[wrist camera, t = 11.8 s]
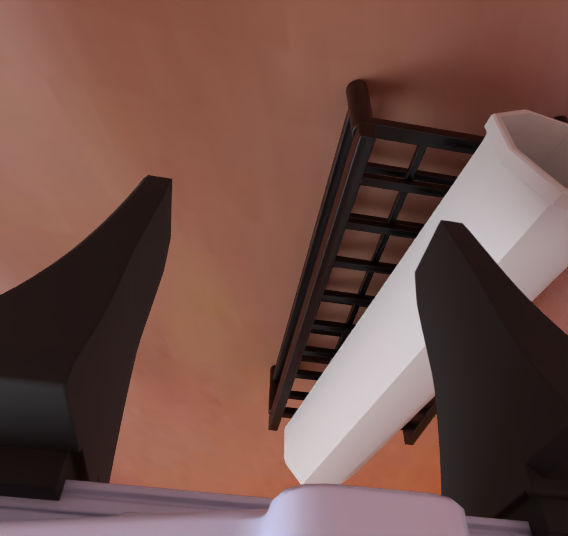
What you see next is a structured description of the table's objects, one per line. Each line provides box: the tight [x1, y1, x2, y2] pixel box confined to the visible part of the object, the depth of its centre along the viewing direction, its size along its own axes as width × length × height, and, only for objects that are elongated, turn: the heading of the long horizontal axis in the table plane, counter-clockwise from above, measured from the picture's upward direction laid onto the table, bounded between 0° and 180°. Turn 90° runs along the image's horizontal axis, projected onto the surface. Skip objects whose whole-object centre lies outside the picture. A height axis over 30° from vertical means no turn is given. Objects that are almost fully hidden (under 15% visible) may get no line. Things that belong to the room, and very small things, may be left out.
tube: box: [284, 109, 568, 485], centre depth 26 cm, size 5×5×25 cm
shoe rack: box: [268, 80, 568, 445], centre depth 29 cm, size 10×22×4 cm, turn 170°
